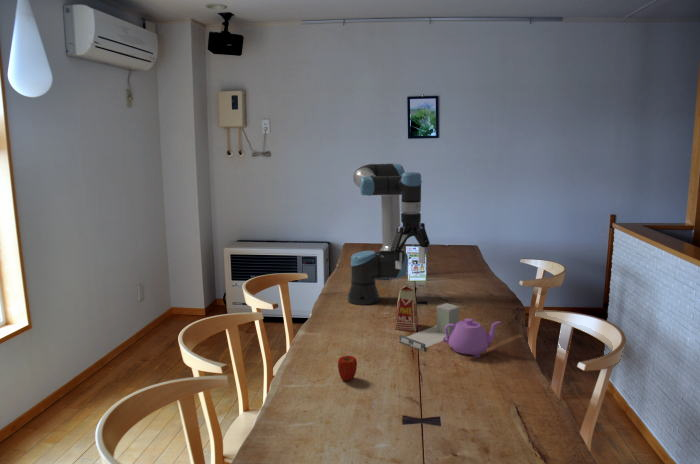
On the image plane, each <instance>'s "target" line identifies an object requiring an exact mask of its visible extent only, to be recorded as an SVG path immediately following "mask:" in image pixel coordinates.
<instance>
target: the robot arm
mask: <svg viewBox="0 0 700 464" xmlns="http://www.w3.org/2000/svg"><path fill="white" fill-rule="evenodd" d="M353 182H354V184H355V185H356V186H357V187H358V188H359V191H360V195H362V196H368V197H369V196H380V200H381V203H380V204H381V234H382V235H381V236H382V237H381V239H382V241H381V242H382V245H381V248H379V253H376V251H374V250H363V251H358V252H355V253H353V254H352V255H351V257H350V272H351V273H350V281H351V282H350V288H349V292H348V294H347V302H348V301H349V302H348V303H350V304H352V305H359V306H366V305H367V306H368V304H369V305H373V304H377V303H379V302H380V294H379V291H378V288H377V285H376V282H377V281H376V280H378V279H379V280H381V279H382V280H383V279H401V278H404V277H405V276H406V274H407V272H408V266H409V259H408V258H409V255H408V254H407V253H406V252H405V249H404V246H405V244H406V243H407V240H408V239H409V238H412V237H414V238H415V239H416V241H417V243H418V244H419V246H418V264H423V265H424V264H425V265H426V254H427V252H426V251H427V248H428V247H429V245H430V239H429V237H428V234H427V231H426V225H425V223H423V222H421V218H422V217H421V216H422V215H421V214H422V213H420V212H421V209H422V208H421V207H422V206H421V204H422V183H423V182H422V174H421V173H420V172H415V171H413V172H411V171H409V172H405V168H404V167H403V165H402V164H400V163H369V164H365V165H361V166H360V167H359V168H357V169H356V170H355V172H354V174H353ZM400 196H401V199H400ZM400 200H401V202H400ZM400 204H401V206H400ZM400 209H401V210H400ZM400 211H401V212H402V213H401V212H400ZM400 219H401V220H400ZM401 223H402V226H401Z"/></svg>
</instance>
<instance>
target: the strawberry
mask: <svg viewBox="0 0 700 464" xmlns="http://www.w3.org/2000/svg"><path fill="white" fill-rule="evenodd" d="M357 368H358V362H357V359H356V357H355V356H352V355H345V356H344V355H343V356H341V357H339V358H338V360H337V369H338V374H339V377H340V379H341V380H342V381H343V382H344V381H345V382H346V381H350V380H351V381H352V380H353V379H354V377H355V375H356V373H357Z"/></svg>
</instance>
